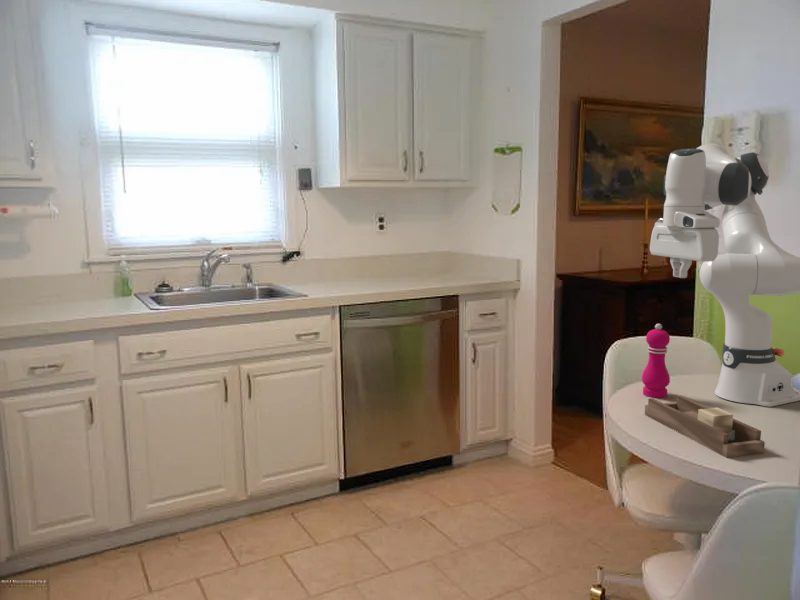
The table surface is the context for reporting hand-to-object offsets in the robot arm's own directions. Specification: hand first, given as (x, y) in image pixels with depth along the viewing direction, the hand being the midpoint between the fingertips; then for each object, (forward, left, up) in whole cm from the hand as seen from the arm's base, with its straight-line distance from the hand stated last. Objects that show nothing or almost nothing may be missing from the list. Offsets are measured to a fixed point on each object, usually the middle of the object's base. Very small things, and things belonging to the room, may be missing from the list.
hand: (679, 277), depth 156 cm
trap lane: (0, +10, -35) cm, 36 cm away
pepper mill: (-8, -18, -35) cm, 40 cm away
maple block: (0, +15, -33) cm, 36 cm away
